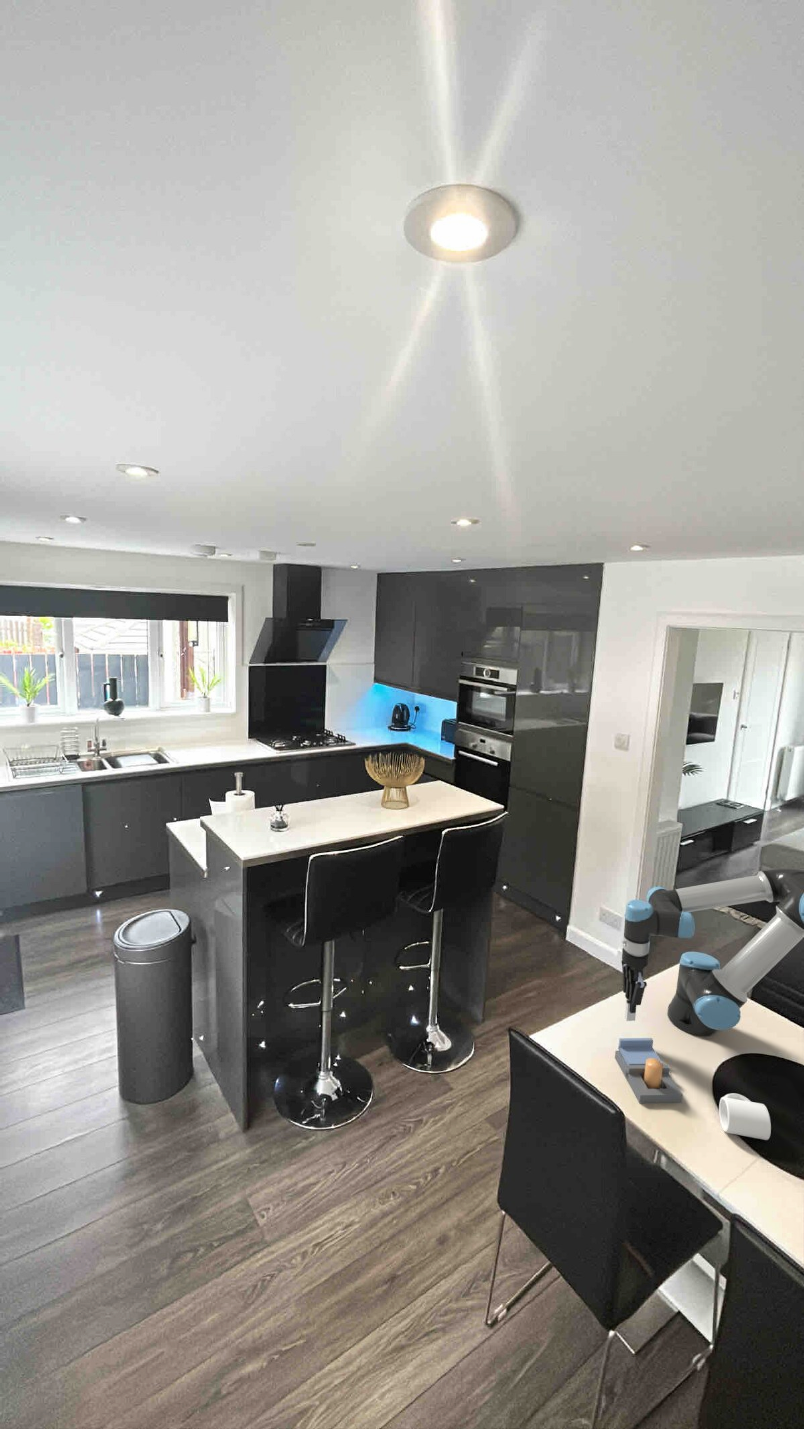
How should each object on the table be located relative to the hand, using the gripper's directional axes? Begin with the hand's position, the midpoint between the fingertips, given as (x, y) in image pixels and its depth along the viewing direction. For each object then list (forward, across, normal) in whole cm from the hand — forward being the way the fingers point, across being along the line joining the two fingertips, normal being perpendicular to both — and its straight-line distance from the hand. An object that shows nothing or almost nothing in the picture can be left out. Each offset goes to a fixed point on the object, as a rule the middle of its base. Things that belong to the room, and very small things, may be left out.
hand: (629, 1019), depth 194 cm
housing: (+7, +17, -2) cm, 18 cm away
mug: (+8, +33, +16) cm, 37 cm away
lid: (+4, +12, -2) cm, 12 cm away
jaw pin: (+7, +20, -2) cm, 21 cm away
